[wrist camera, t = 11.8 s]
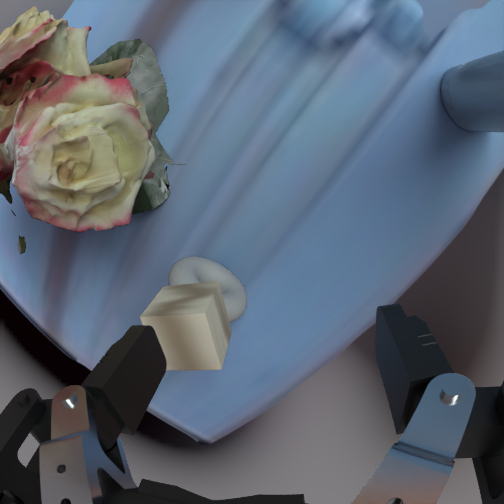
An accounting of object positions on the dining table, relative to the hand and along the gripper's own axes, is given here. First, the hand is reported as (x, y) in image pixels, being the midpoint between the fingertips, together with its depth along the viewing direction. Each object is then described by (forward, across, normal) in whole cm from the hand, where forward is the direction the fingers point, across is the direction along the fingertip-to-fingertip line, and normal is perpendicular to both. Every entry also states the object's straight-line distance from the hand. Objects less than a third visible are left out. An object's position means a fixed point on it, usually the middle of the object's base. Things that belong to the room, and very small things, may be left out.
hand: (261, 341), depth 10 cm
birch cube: (+17, +10, +8) cm, 21 cm away
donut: (+27, +10, +8) cm, 30 cm away
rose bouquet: (+27, +23, -15) cm, 38 cm away
